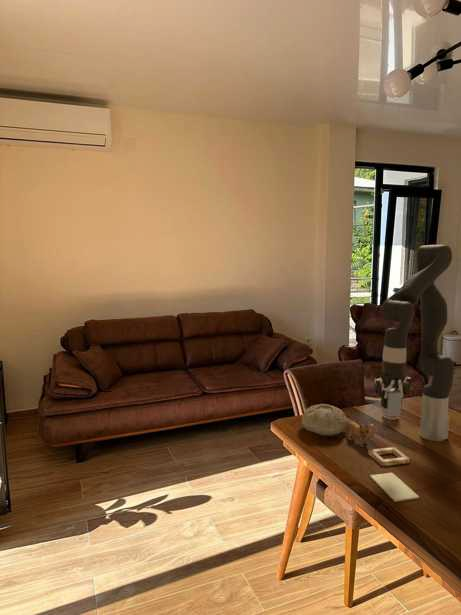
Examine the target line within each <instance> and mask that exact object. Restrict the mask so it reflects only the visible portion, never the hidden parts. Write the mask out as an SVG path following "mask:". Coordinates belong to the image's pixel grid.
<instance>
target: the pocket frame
mask: <svg viewBox="0 0 461 615" xmlns="http://www.w3.org/2000/svg"><path fill="white" fill-rule="evenodd" d="M367 454H368V455H369V456H370V457H371V458H373V460H375V461H376V462H377V463H378V464H379V465H380V466H381V467H385V466H393V465H394V466H395V465H401V464H410V457H408V456H407V455H405V453H403V452H401V451H400V450H399V449H397V447H395V446H393V447H383V448H374V449H373V448H372V449H368V452H367ZM388 454H393V455H394V456H396V457H394V458H385V459H384V458H383V457H382V455H388ZM380 455H381V456H380Z"/></svg>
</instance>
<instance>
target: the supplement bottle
mask: <svg viewBox="0 0 461 615" xmlns="http://www.w3.org/2000/svg"><path fill="white" fill-rule="evenodd" d="M382 417H383V418H385V419H386V420H387V419H388V420H391V421H395V420H397V419H399V417H400V415H395V416H388V415H386V414H385V413H383V412H382Z"/></svg>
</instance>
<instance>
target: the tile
mask: <svg viewBox="0 0 461 615" xmlns="http://www.w3.org/2000/svg"><path fill="white" fill-rule="evenodd" d="M369 477H370V479H372V481H373V482H375V484H376V485H377V486H379V487H380V488H381V490H382V491H383V492H384V493H386V494H387V495H388V496H389V498H391V499H392V501H394V502H396V503H397V502H402V501H409V500H410V501H411V500H417V499H418V500H419V499H420V496H419V495H418V494H417V493H416V492H415V491H413V489H412V488H411V487H409V486H408V485H407V484H406V483H404V482H403V481H402V480H401V479H400V478H399V477H398V476H397V475H395V474H394V473H393V472H385V473H379V474H370V475H369Z"/></svg>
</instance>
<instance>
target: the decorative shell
mask: <svg viewBox="0 0 461 615" xmlns="http://www.w3.org/2000/svg"><path fill="white" fill-rule="evenodd" d="M347 421H348V419H347V417H346V415H345V413H344V411H343V410H341V408H338V407H336V406H334V405H331V404H326V403H320V404H314V405H310V406H309V407H308V408H306V409H305V410H303V413H302V415H301V423H302V426H303V427H304V429H305V430H307V431H309V432H312V433H315V434H318V435H320V436H324V437H330V436H335V435H336V436H337V435H339V434H341V433H343V432H345V431H344V430H345V429H346V427H347Z"/></svg>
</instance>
